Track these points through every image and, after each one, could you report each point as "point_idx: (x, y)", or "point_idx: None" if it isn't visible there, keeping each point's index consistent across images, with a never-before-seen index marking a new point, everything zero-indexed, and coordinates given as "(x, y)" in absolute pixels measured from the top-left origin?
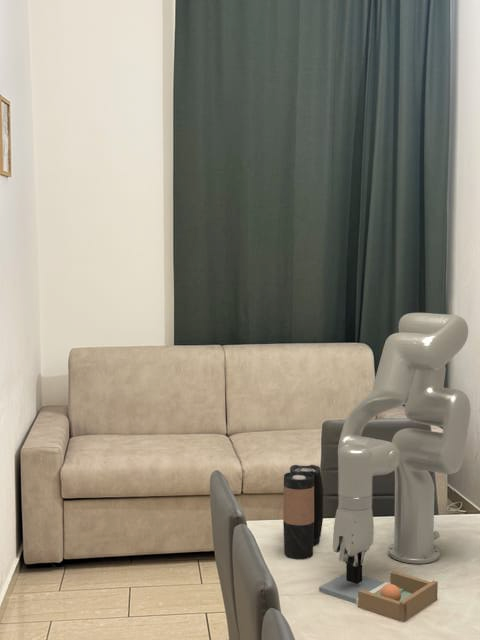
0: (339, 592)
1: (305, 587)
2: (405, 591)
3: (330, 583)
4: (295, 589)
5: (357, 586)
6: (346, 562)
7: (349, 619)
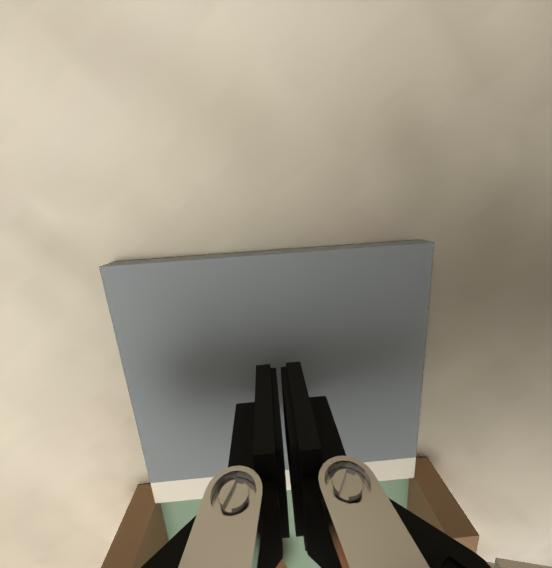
0: (142, 389)
1: (86, 160)
2: None
3: (194, 282)
4: (9, 130)
5: None
6: (182, 538)
7: (22, 524)
